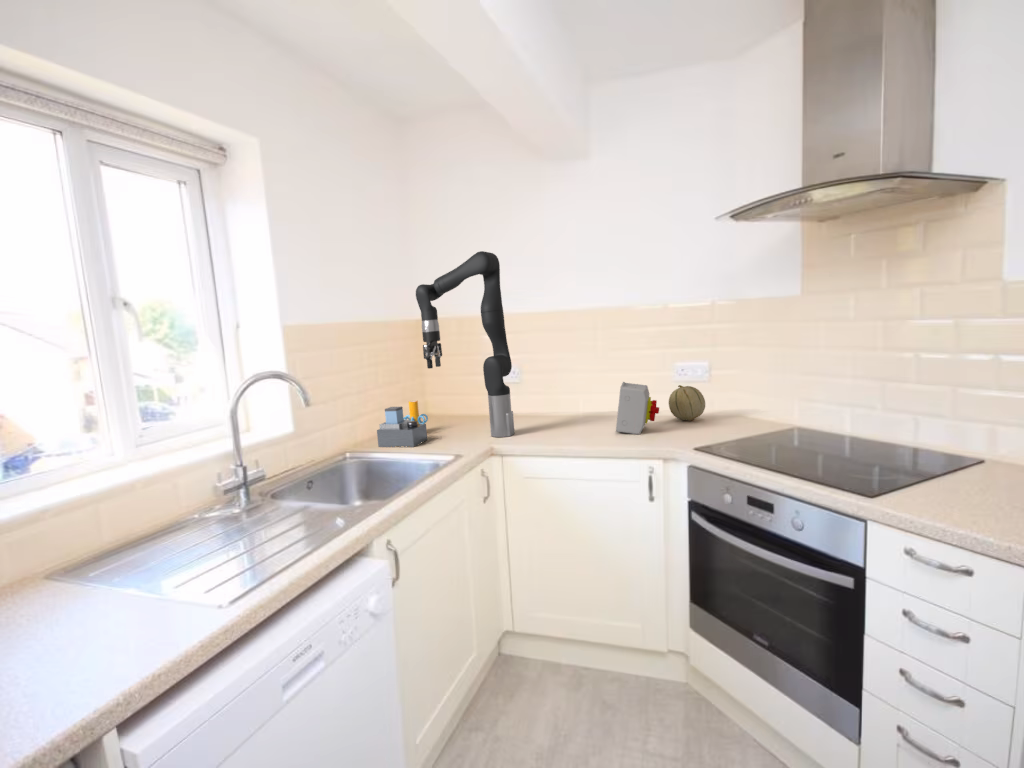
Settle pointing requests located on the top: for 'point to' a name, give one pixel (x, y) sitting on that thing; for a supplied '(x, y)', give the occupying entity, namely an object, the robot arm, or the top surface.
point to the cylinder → (415, 413)
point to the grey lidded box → (394, 415)
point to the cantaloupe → (686, 403)
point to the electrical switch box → (635, 408)
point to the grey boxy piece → (401, 434)
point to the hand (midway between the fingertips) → (434, 367)
